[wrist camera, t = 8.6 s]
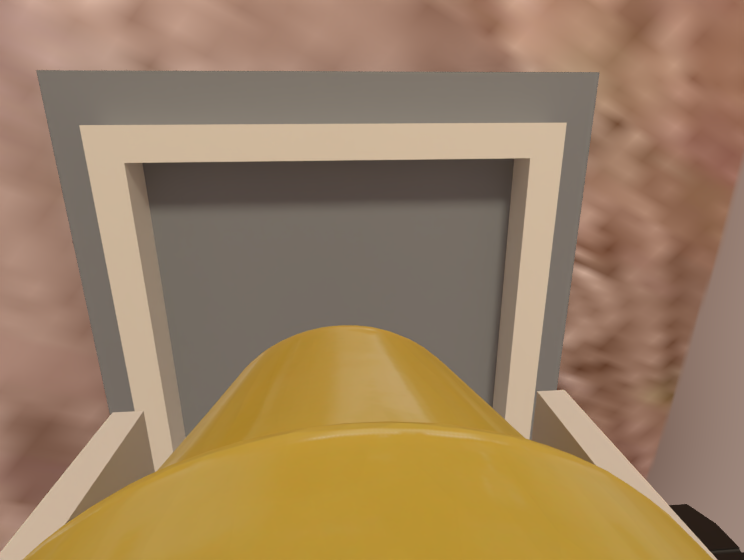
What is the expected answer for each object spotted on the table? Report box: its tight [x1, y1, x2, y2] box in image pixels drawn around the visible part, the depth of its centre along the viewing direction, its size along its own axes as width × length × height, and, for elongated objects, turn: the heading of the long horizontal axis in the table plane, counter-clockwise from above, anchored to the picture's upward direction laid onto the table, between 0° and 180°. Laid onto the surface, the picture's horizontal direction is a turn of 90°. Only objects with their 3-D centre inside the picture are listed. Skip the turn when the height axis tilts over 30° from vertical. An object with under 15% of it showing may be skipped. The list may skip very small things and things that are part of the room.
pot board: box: [36, 70, 599, 472], centre depth 19 cm, size 20×20×2 cm
